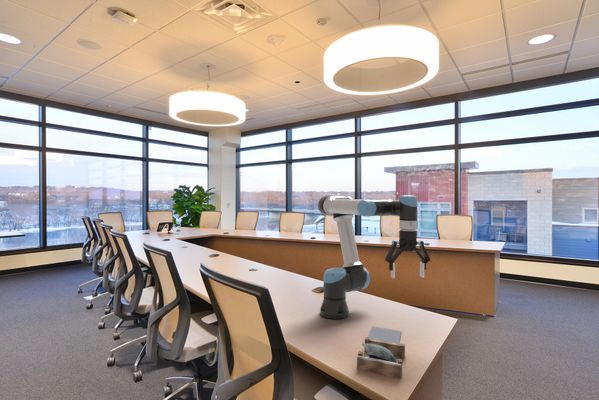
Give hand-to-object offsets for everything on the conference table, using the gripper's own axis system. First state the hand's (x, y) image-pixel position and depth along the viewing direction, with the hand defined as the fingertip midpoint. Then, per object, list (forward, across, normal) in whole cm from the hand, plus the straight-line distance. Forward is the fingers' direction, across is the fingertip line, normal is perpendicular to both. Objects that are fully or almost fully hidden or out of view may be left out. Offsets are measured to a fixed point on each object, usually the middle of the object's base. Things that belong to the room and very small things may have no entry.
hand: (407, 277), depth 139 cm
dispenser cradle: (+26, -20, -22) cm, 39 cm away
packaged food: (+27, -20, -22) cm, 40 cm away
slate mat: (+26, -11, -2) cm, 28 cm away
